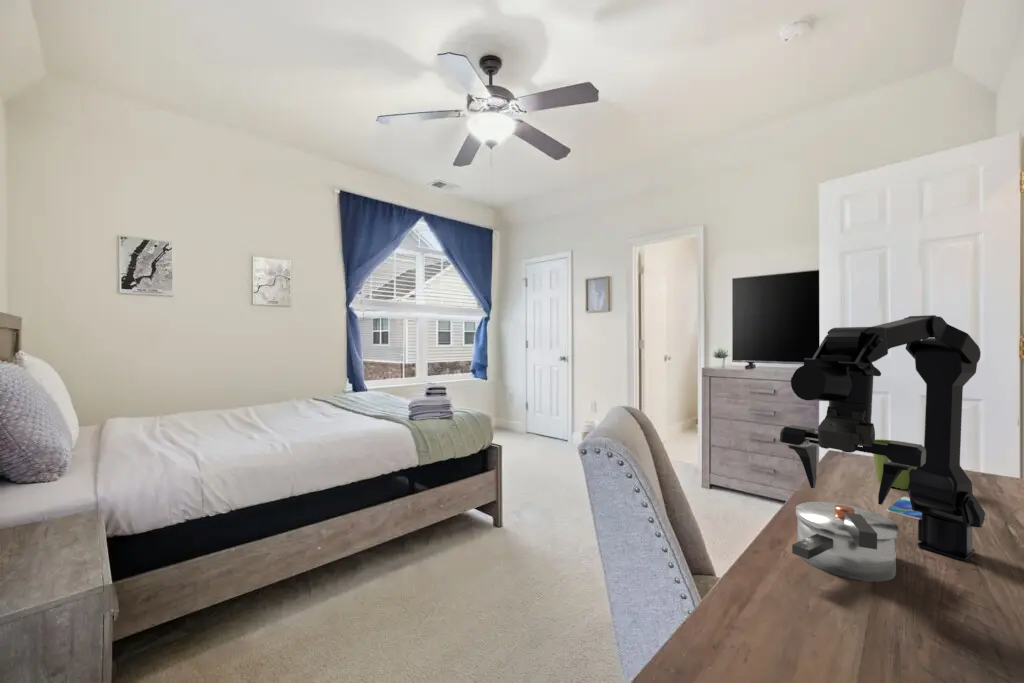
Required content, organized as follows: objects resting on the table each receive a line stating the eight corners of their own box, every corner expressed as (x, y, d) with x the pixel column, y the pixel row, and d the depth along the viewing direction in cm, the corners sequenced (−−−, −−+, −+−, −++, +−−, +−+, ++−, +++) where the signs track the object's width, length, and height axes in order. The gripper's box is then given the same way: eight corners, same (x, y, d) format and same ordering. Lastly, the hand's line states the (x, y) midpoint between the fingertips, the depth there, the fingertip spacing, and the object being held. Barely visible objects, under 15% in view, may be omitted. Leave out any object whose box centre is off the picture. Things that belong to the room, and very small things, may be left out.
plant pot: (910, 495, 112) (910, 451, 112) (858, 481, 123) (858, 441, 123) (935, 489, 117) (935, 446, 117) (882, 476, 128) (883, 437, 128)
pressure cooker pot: (827, 533, 90) (827, 501, 90) (916, 563, 78) (916, 526, 78) (757, 565, 77) (757, 527, 77) (850, 606, 65) (851, 562, 65)
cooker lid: (789, 502, 89) (789, 485, 89) (881, 514, 83) (881, 496, 83) (810, 545, 70) (810, 524, 70) (930, 564, 64) (930, 541, 64)
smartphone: (941, 504, 105) (928, 520, 96) (941, 508, 105) (928, 524, 96) (902, 495, 111) (885, 509, 102) (901, 498, 111) (885, 513, 102)
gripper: (770, 396, 76) (765, 487, 76) (917, 412, 62) (911, 525, 61) (793, 394, 83) (788, 478, 83) (928, 409, 69) (923, 510, 69)
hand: (845, 495), depth 74 cm, fingers open, 9 cm apart
